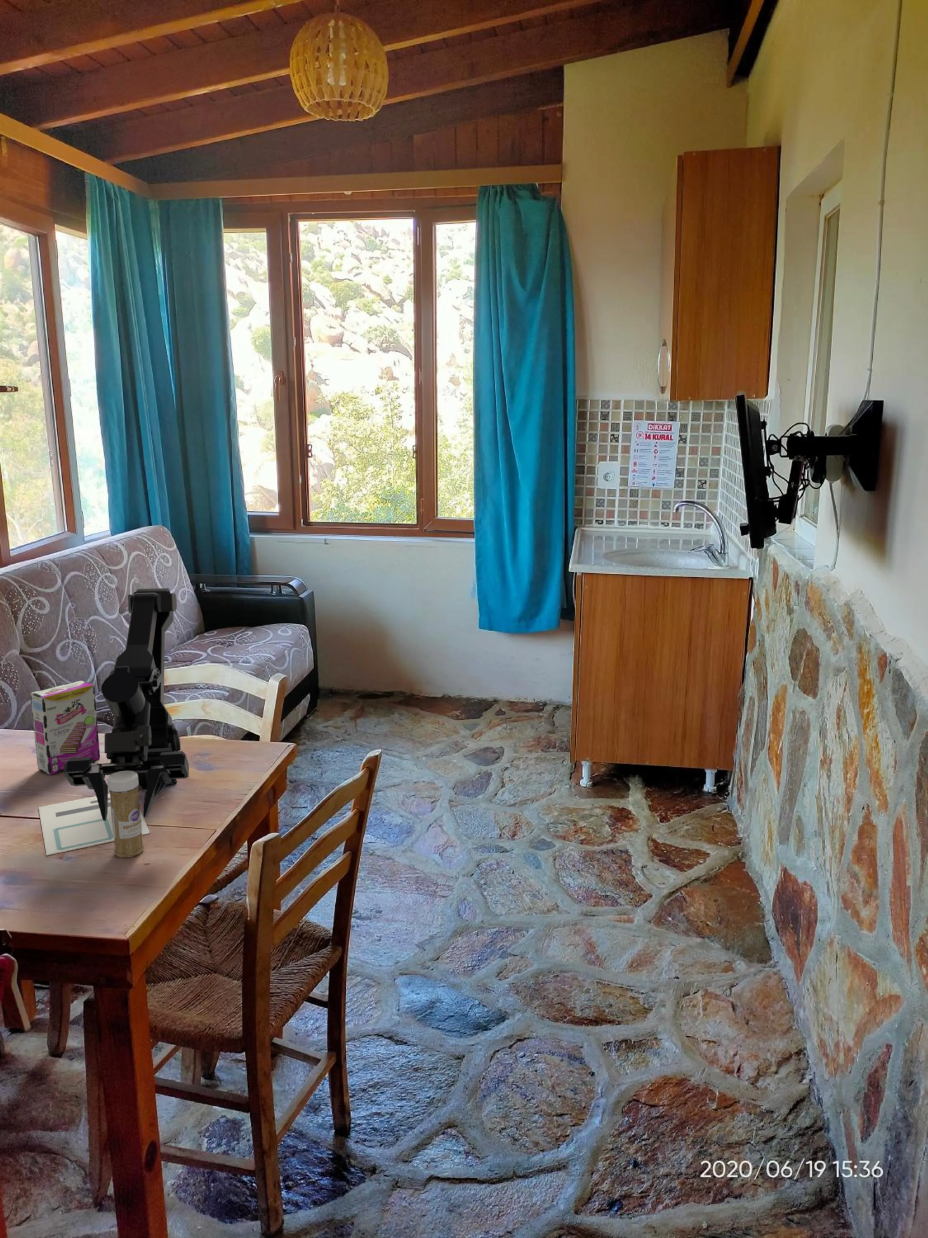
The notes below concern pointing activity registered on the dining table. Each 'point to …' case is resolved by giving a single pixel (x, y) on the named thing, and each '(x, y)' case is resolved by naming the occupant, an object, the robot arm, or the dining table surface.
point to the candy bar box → (64, 725)
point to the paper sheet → (77, 825)
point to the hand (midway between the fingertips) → (124, 818)
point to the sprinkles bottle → (125, 813)
